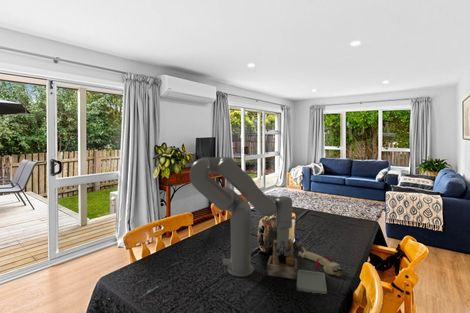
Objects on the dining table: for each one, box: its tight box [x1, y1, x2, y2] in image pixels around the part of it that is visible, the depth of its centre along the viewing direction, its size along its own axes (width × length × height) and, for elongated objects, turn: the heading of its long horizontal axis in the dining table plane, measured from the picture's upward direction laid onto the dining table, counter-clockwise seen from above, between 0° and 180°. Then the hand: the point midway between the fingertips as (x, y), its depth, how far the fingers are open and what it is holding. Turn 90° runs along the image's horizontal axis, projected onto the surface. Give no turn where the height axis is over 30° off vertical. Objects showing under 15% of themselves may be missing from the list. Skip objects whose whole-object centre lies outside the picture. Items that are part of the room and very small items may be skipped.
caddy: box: [266, 255, 298, 280], centre depth 125 cm, size 13×10×5 cm
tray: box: [296, 268, 328, 295], centre depth 116 cm, size 12×15×2 cm
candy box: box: [272, 238, 294, 267], centre depth 124 cm, size 9×4×15 cm, turn 92°
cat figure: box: [297, 242, 343, 277], centre depth 131 cm, size 10×9×25 cm
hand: (283, 258), depth 124 cm, fingers open, 9 cm apart
